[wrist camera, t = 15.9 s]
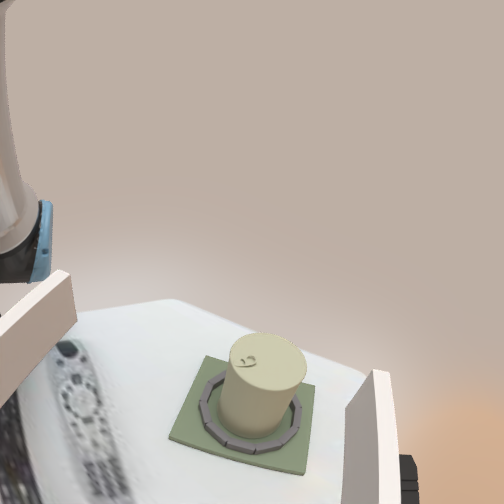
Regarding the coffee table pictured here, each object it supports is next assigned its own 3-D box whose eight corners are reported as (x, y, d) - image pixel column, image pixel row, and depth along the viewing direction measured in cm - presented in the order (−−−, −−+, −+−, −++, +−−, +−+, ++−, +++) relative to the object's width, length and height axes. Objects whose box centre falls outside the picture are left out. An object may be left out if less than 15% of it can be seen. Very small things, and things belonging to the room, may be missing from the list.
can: (208, 391, 42) (219, 333, 37) (266, 382, 46) (288, 325, 41) (228, 445, 35) (246, 395, 30) (292, 430, 39) (322, 378, 33)
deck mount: (168, 438, 35) (168, 430, 34) (205, 359, 49) (207, 349, 48) (302, 475, 33) (309, 468, 32) (313, 389, 47) (318, 379, 46)
